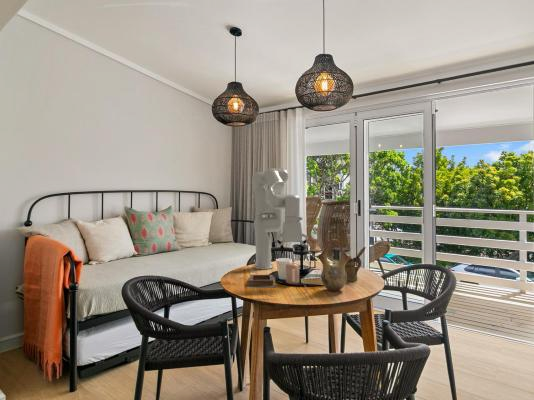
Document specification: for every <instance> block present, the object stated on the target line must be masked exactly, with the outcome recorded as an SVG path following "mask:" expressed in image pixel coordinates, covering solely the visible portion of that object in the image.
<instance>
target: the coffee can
mask: <svg viewBox="0 0 534 400" xmlns="http://www.w3.org/2000/svg"><path fill="white" fill-rule="evenodd" d="M341 247H342V249H343V251H344V252H345V253H346V254H347V255H349V256H351V248H350V247H346V246H341ZM340 260H341V252H340V248H339V246H336V247H335V246H334V247H332V264H337V263H338V262H339V261H340Z"/></svg>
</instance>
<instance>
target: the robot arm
mask: <svg viewBox="0 0 534 400" xmlns="http://www.w3.org/2000/svg"><path fill="white" fill-rule="evenodd" d="M288 179H289V173H288V171H287V170H286V169H285V168H279V167H278V168H277V167H273V168H272V167H271V168H267V169H265V170H264V171H260V172H258V171H257V172H254V174H252V177H251V184H252V185H251V186H252V188H253V191H254V201H255V202H254V203H255V213H256V214H257V215H259V216H263V217H257V218H256V219H254V221H253V228H254V233H255V264H253V268H254V270H255V269H256V270H270V269H273V268H274V264H272V248H271V247H272V241H271V237H270V236H269V234H268V233H277V232H280V231H281V233H280V234H278V235H276V236H274V239H275V240H276V242H277V243H278V244H279V247H280V252H281V254H284V244H285V243H300V246H299V248H300V250H299V253H300V254H303V252H304V248H305V247H304V246H305V245H306V244H307V242H308V240H309V239H310V237H309V235H307V234H304V233H303V229H302V222H301V221H303V217H301V216H300V215H301V213H300V212H301V211H300V210H301V209H300V196H299V195H294V194H279V193H281V192H282V190H283V189H284V188H285V183H287V181H288ZM265 186H266V187H267V186H268V188H266V187H265ZM282 209H283V210H284V221H283V222H282ZM269 216H270V217H269ZM279 238H281V241H280V239H279ZM303 238H304V240H303Z"/></svg>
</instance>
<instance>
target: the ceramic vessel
mask: <svg viewBox="0 0 534 400" xmlns="http://www.w3.org/2000/svg"><path fill="white" fill-rule="evenodd" d="M331 242H336V243H337V245H338V247H339V248H340V252H341V260H340V261H339V262H338V263H337V264H333V263H331V262H330V261H329V260H328V259H327V257H328V256H327V254H328V249H329V246H330V244H331ZM342 247H343V246H342V245H341V242H340V240H338V239H336V238H331V239H329V240H328V241H327V243H326V246H325V247H324V250H323V251H322V252H321V253H320V254H318V255H316V258H317V260H319V261H320V263H321V265H322V270H321V275H320V278H321V282H322V285H323V286H324V288H326V289H327V290H328V291H332V292H339V291H340V290H342V289H344V287H345V286H346V284H347V282H346V280H347V275H346V271H345V264H346V262H347V261H348V260H349V259H350V258H352V256H351V255H350V256H349V255H347V254H346V253H345V252H344V251H343V249H342Z"/></svg>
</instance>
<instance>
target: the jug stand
mask: <svg viewBox="0 0 534 400" xmlns="http://www.w3.org/2000/svg"><path fill="white" fill-rule="evenodd" d="M249 276H250V277H248V280H247V286H246V289H276V288H277V286H276V279H275V276H274V275H273V274H250V275H249Z"/></svg>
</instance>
